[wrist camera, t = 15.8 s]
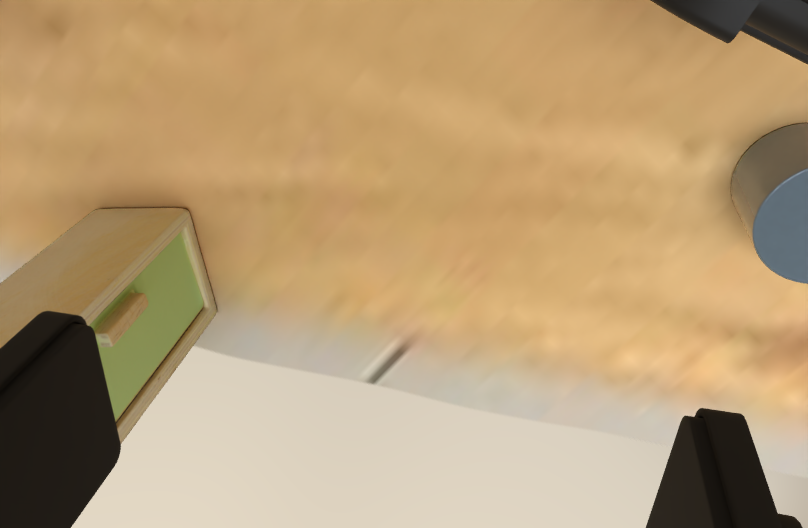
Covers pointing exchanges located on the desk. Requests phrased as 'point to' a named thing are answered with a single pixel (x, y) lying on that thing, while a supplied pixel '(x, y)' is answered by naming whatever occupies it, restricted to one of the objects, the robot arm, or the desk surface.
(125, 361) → the toy refrigerator
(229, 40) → the desk surface
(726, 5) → the end cap
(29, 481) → the robot arm
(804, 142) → the short metal cylinder
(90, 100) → the desk surface
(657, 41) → the desk surface
